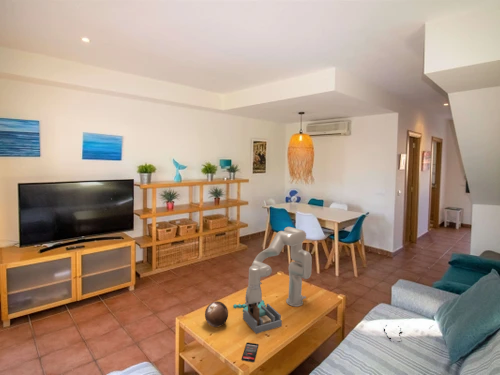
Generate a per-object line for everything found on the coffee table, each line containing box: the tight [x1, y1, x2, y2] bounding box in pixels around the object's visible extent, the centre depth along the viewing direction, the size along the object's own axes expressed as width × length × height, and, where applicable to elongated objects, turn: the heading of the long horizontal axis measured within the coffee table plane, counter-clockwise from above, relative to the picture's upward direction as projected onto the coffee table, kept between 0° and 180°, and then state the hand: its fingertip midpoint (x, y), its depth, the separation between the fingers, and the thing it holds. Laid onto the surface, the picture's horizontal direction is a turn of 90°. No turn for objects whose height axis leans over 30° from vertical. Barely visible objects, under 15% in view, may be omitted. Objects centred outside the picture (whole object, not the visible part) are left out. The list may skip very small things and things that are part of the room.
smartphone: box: [240, 342, 259, 363], centre depth 162 cm, size 7×1×15 cm
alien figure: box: [232, 299, 267, 313], centre depth 210 cm, size 20×2×20 cm
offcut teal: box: [258, 307, 265, 317], centre depth 193 cm, size 5×6×3 cm
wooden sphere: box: [204, 301, 229, 328], centre depth 186 cm, size 15×15×15 cm
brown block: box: [248, 303, 260, 326], centre depth 187 cm, size 2×12×14 cm, turn 28°
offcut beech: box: [260, 315, 271, 324], centre depth 187 cm, size 6×6×5 cm
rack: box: [242, 303, 283, 334], centre depth 190 cm, size 19×18×7 cm
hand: (253, 312), depth 187 cm, fingers closed on brown block, 2 cm apart
